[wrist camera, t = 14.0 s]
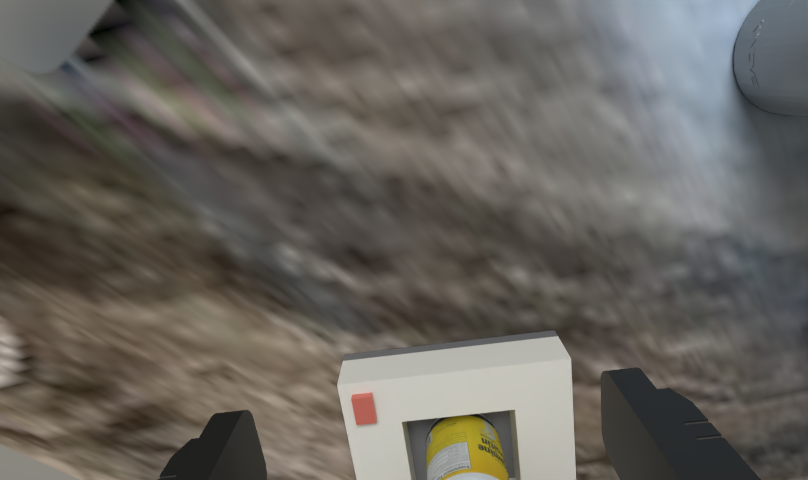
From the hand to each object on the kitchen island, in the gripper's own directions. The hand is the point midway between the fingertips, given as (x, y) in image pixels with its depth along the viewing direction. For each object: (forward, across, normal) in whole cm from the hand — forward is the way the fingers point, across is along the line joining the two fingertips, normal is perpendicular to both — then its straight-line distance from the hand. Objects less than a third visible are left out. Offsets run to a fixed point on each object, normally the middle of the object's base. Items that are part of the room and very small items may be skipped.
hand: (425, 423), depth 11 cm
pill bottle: (+27, -1, +23) cm, 36 cm away
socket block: (+28, -1, +23) cm, 36 cm away
